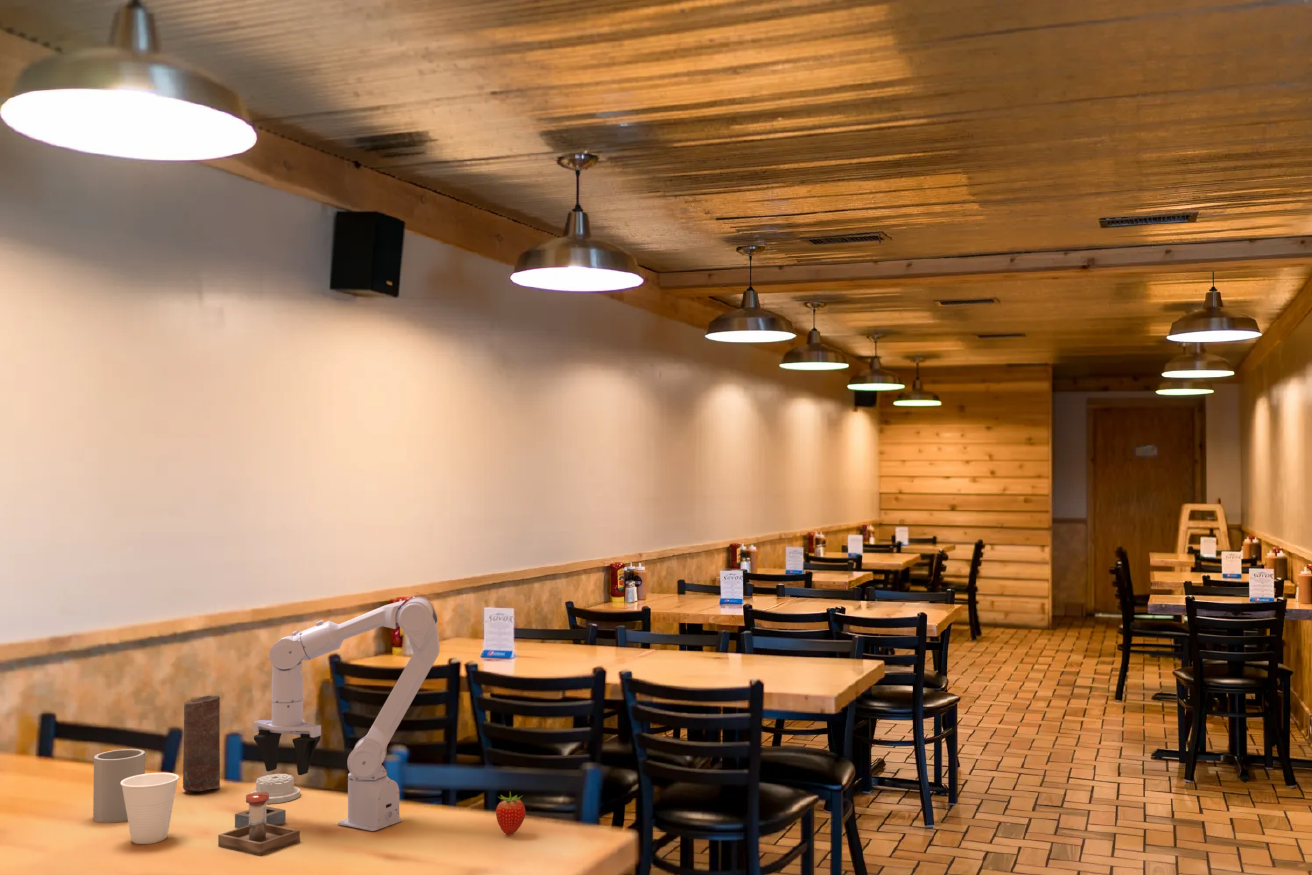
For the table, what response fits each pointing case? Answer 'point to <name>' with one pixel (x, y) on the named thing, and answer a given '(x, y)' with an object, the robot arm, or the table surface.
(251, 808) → the spice jar
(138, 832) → the cup
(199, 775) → the candle
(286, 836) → the tray
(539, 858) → the table surface
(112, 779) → the cup
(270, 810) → the block
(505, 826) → the fruit
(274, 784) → the white rounded piece
